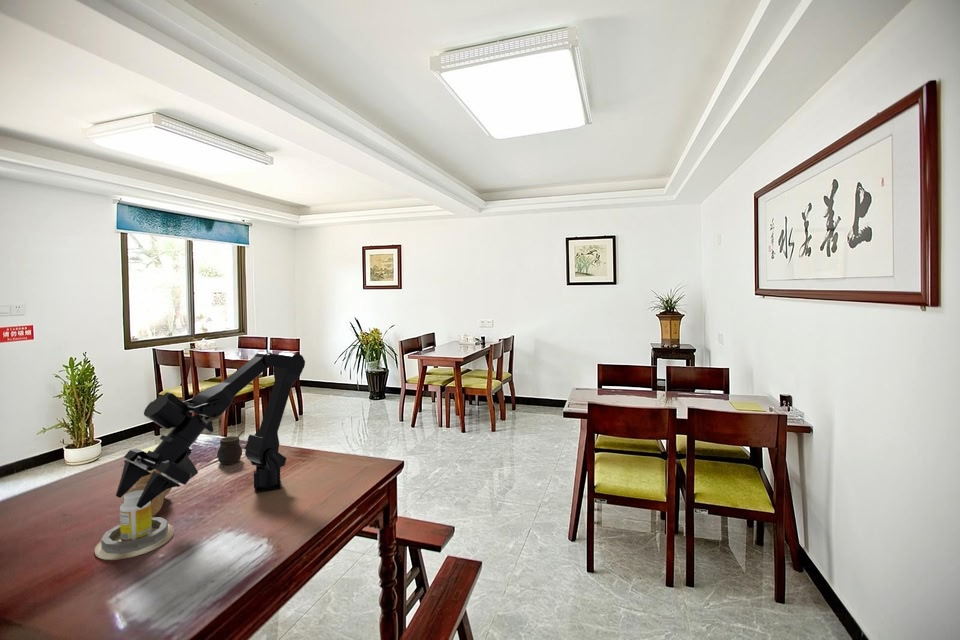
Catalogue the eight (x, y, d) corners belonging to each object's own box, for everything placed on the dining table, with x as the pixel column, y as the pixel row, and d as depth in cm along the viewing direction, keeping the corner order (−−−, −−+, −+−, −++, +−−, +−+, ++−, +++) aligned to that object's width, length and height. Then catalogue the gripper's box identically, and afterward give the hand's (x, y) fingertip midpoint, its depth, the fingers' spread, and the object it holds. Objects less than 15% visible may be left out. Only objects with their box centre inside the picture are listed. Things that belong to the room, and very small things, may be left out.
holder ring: (178, 520, 109) (178, 509, 109) (167, 550, 96) (167, 538, 96) (106, 532, 103) (106, 521, 103) (84, 566, 90) (84, 554, 90)
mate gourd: (214, 461, 146) (214, 431, 146) (239, 456, 151) (239, 427, 151) (219, 468, 141) (219, 437, 140) (246, 462, 146) (246, 432, 145)
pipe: (118, 525, 106) (117, 485, 105) (136, 497, 121) (135, 461, 120) (164, 518, 110) (163, 478, 109) (176, 491, 125) (175, 456, 124)
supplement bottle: (155, 529, 103) (154, 486, 103) (147, 542, 98) (146, 497, 98) (125, 534, 101) (124, 490, 101) (116, 547, 96) (115, 501, 96)
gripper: (227, 462, 108) (179, 526, 99) (184, 447, 117) (137, 505, 108) (192, 439, 100) (137, 507, 91) (149, 425, 109) (95, 486, 100)
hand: (127, 501), depth 98 cm, fingers open, 9 cm apart
